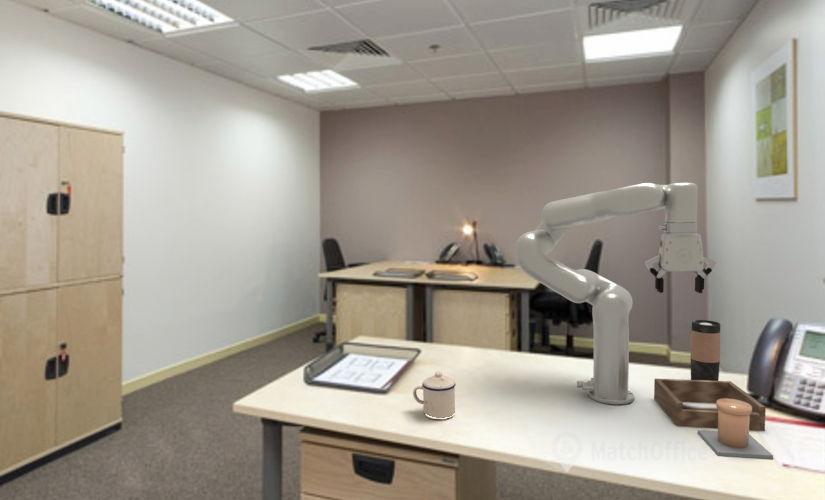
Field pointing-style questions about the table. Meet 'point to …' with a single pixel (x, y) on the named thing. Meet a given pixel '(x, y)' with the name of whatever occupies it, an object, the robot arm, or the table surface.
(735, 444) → the terracotta pot
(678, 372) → the table surface
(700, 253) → the robot arm
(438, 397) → the teacup with lid
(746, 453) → the slate mat
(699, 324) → the travel mug
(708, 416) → the brown wooden square frame
